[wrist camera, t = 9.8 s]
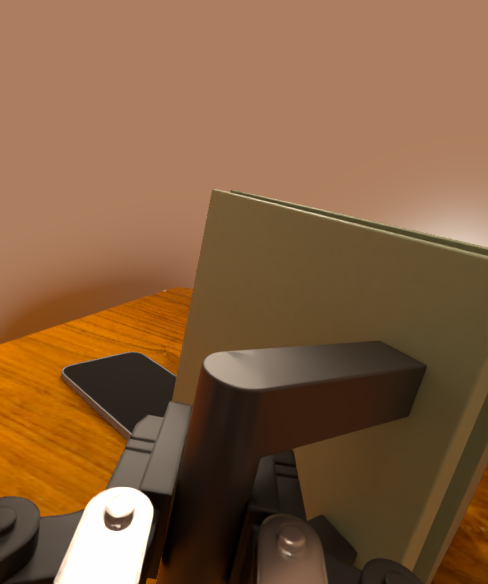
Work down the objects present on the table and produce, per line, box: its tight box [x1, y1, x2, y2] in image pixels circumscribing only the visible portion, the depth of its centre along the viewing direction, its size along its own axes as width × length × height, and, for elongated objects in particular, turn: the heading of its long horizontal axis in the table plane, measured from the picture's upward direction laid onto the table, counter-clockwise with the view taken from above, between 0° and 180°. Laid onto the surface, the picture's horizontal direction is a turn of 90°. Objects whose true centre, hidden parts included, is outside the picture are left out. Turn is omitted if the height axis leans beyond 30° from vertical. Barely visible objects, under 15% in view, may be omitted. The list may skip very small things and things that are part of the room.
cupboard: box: [230, 190, 488, 584], centre depth 22 cm, size 10×14×16 cm
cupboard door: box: [156, 189, 488, 584], centre depth 14 cm, size 7×14×16 cm, turn 34°
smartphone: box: [61, 352, 177, 441], centre depth 28 cm, size 7×1×15 cm
